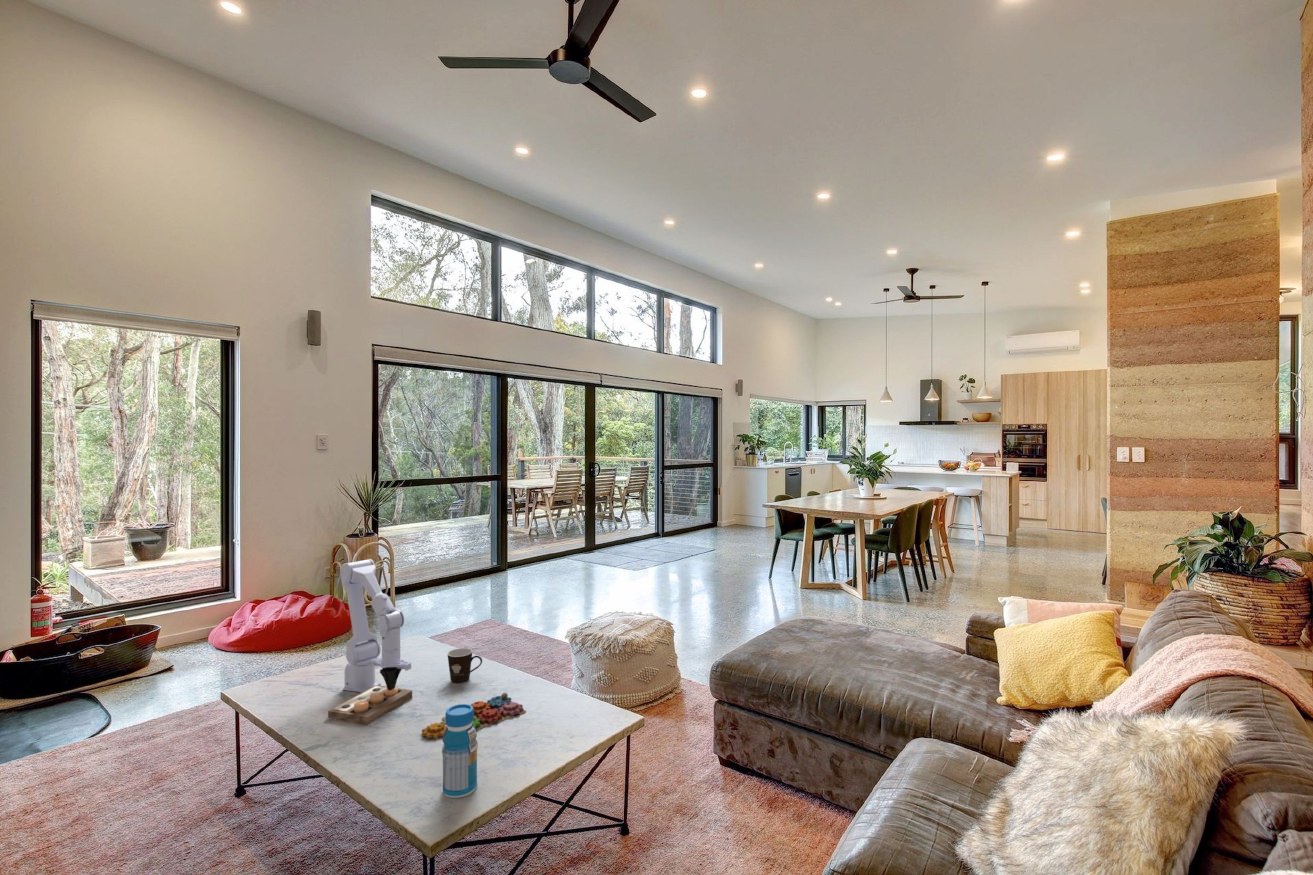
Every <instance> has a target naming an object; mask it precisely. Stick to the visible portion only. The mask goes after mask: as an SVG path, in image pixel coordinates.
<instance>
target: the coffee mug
mask: <svg viewBox="0 0 1313 875" xmlns="http://www.w3.org/2000/svg"><path fill="white" fill-rule="evenodd" d="M446 654H447V661H448V663H447V664H448V668H449V669H448V670H449V678H450V683H452V684H455V685H457V684H464V682H465V683H467V682H469V681H470V676H471V675H470V674H471V673H472V672H474V671H475V670H477V669H479V667H481V665H482V663H483V658H482V657H481V656H480V655H474V656H473V649H472V648H469V647H468V648H467V647H459V648H455V649H452V650H449V651H448V652H447V653H446ZM475 658H476V659H477V658H478V659H479V661H480V663H479V664H478V665H477V666H476V667H475V668H473V669H472V668H471V666H472V661H473V660H474V659H475Z"/></svg>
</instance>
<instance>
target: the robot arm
mask: <svg viewBox="0 0 1313 875" xmlns="http://www.w3.org/2000/svg"><path fill="white" fill-rule="evenodd" d="M376 572H377V567H376V564H375V562H374V560H373V559H371V558H367V559H364V560H357V561H352V562H345V563H343V564H342V566H341V568H340V570H339V574H340V579H341V580H340V581H341V586H342V588H345V590H346V596H347V604H348V608H349V609H348V610H349V615H350V622H351V629H352V634H353V635H352V636H351V638H350V639H349V640H347V642H346V644H345V647H346V648H345V649H346V650H345V657H346V660H347V663H346V665H345V667H344V687H343V688H342V690H343V691H349V692H355V693H362V692H364V691H366V690H367V689H369V688H371V687H373V686H375V685H379V686H381V684H382V683H381V682H380V681H376V667H380V668H381V669H380V670H379V673H380V674H381V676H382V678H383V680H384V683H385V686H386V687H387V689H388V690H392V689H394V688H395V686H396V685H397V681H398V679H399V676H400V674H401V672H402V670H404V671H406V672H407V671H409V670H412V662H408V661H407V660H404V659H401V628H402V627H403V626H404V623H405V617H404V614H403V612H402V611H401V610H400V609H398V607H395V606H394V605H393V602H392V601H391V599H390V597H389V595H388V594H387V593H383V592H382V591H383V590H382V589H381V586H380V584H379V583H378V579H377V578H376ZM363 588H364V589H365V591H366V592H367V593H368V595H369V597H370V598H371V601H370V605H371V607H372V610H373V611H374V613H375V615H376V616H377V618H378V621H377V626H378V629H379V635H380V637H381V644H380V642H379V640H378V635H377V634H375V633H372V632H371V631H370V627H369V622H368V621H369V620H368V614H367V610H366V609H367V608H366V603H365V597H364V590H363ZM380 654H381V658H378V657H379V656H380ZM396 687H397V686H396Z"/></svg>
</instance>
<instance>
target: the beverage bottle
mask: <svg viewBox="0 0 1313 875" xmlns="http://www.w3.org/2000/svg"><path fill="white" fill-rule="evenodd" d="M444 717H445V720H446V725H445V726H447V728H446V730H445V732H444V735H443V736H442V739H441V740H442V743H443V744H442V747H441V754H442V793H443V795H444V796H446V797H448V798H452V799H459V798H463V797H464V798H465V797H466V796H467V797H468V796H469V795H470V794H472V793H473V792H474V791H475V790H476V789H477V786H478V744H479V743H478V740H477V737H478V732H477V731H478V730H476V729H475V727H474V725H473V724H472V723H473V720H474V708H473V706H471V704H469V703H459V704H454V705H452V706H450V707H448V708H447V709H446V710H445V716H444Z"/></svg>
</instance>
